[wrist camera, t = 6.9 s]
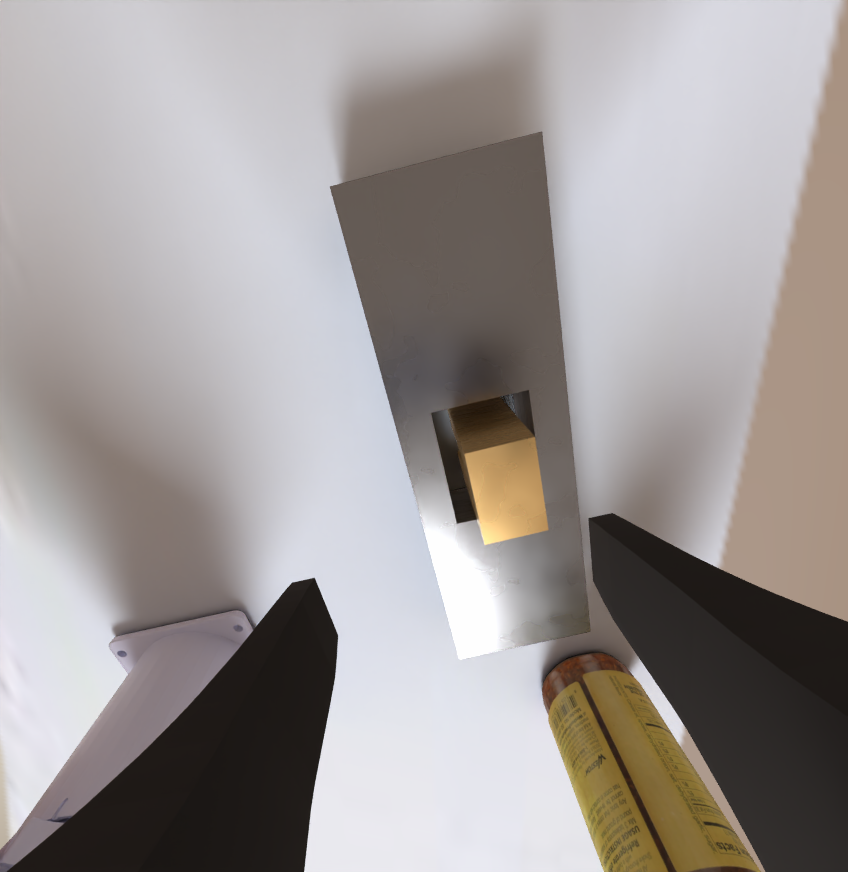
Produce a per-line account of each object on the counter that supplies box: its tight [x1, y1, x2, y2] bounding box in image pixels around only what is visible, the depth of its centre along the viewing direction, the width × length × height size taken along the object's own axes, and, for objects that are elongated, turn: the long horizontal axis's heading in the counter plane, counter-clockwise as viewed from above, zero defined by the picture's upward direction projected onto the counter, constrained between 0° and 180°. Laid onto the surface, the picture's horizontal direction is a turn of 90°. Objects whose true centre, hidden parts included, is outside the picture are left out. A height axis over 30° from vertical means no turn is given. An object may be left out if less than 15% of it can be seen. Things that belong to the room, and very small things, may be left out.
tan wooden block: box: [447, 397, 549, 545], centre depth 16 cm, size 4×2×6 cm, turn 14°
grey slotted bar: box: [330, 132, 590, 659], centre depth 18 cm, size 22×7×3 cm, turn 13°
